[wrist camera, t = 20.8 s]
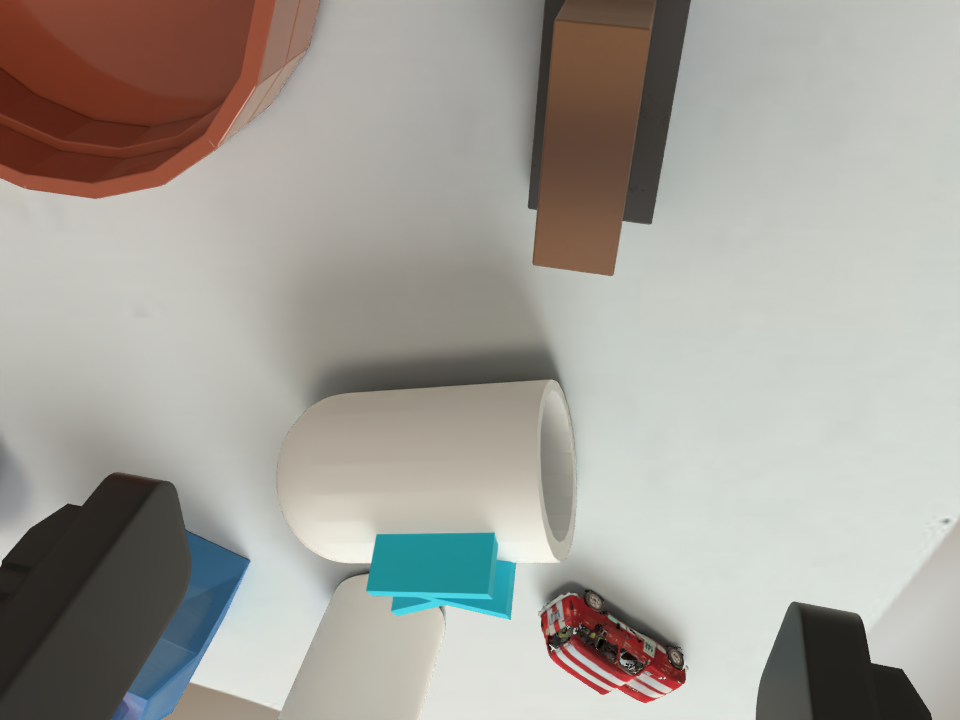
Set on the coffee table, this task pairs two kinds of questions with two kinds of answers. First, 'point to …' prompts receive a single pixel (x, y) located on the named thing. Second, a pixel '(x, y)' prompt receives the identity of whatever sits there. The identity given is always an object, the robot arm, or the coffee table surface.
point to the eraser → (601, 124)
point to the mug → (435, 488)
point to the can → (366, 660)
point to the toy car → (607, 649)
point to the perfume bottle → (185, 633)
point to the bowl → (136, 85)
